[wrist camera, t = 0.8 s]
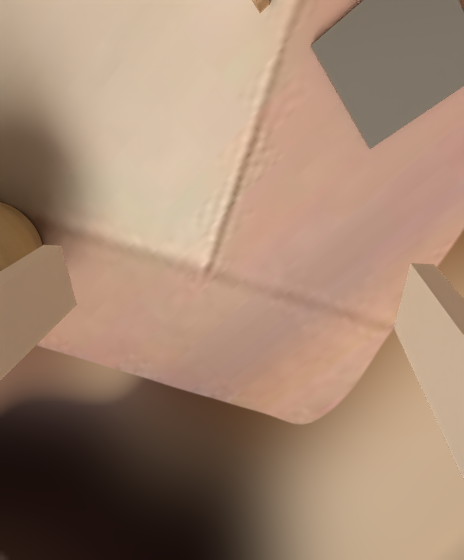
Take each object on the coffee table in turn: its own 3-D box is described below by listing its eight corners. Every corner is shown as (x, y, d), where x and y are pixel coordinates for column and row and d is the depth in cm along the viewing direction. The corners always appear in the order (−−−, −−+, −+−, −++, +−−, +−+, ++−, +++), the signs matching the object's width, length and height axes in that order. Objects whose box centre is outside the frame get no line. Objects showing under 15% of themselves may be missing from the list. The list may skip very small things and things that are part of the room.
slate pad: (310, 46, 29) (310, 45, 28) (430, -57, 25) (433, -60, 25) (368, 148, 32) (370, 149, 31) (484, 69, 28) (488, 69, 28)
